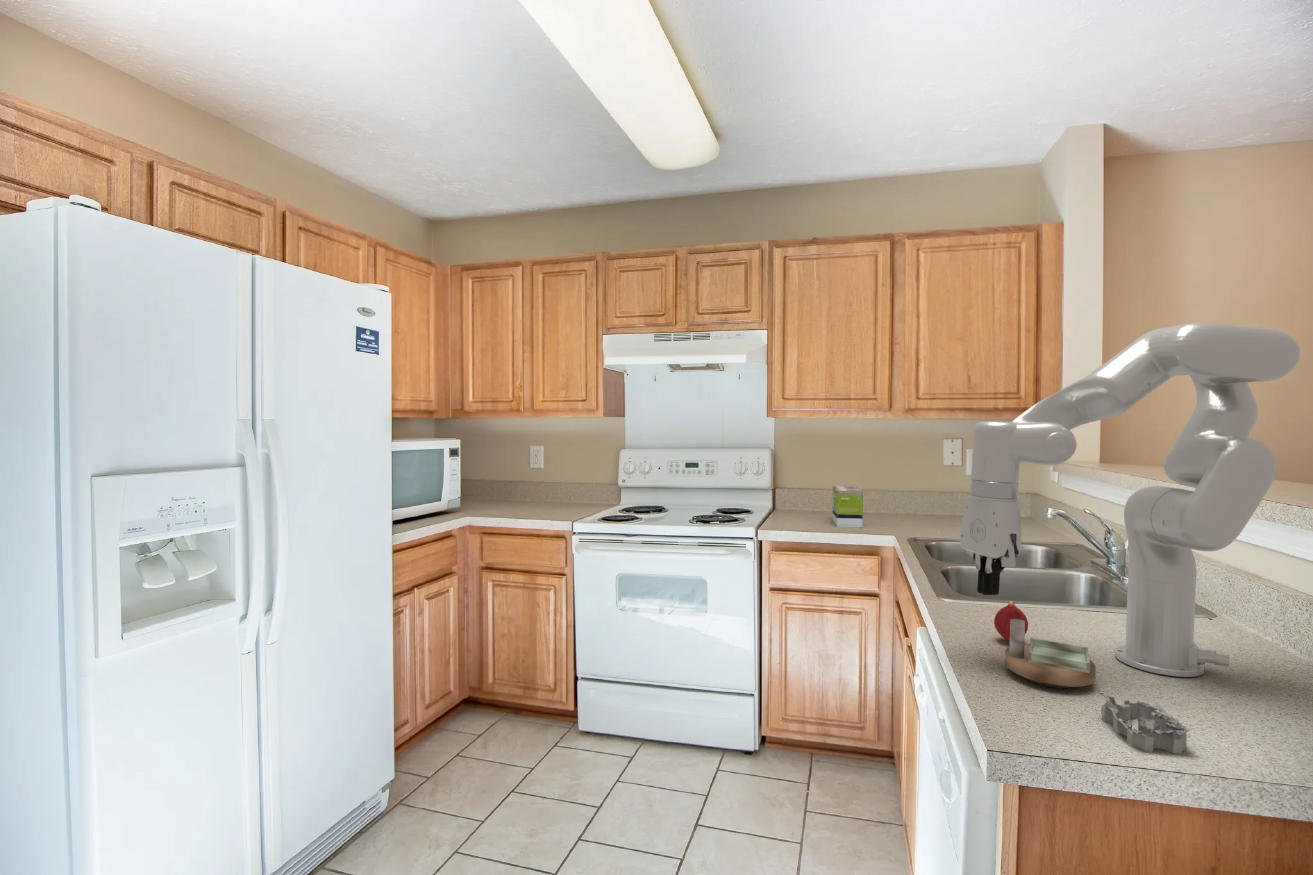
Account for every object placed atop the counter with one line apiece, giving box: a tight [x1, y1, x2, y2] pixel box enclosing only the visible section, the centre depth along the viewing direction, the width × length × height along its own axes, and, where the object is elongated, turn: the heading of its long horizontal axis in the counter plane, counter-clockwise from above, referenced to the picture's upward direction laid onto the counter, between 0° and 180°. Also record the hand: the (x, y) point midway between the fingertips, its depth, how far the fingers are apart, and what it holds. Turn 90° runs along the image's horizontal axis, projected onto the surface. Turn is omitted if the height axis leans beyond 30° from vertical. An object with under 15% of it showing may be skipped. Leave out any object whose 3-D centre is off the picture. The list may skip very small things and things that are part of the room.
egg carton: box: [1098, 690, 1193, 755], centre depth 90 cm, size 11×8×4 cm
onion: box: [993, 600, 1029, 643], centre depth 126 cm, size 6×6×8 cm
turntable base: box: [1023, 677, 1071, 689], centre depth 109 cm, size 8×8×1 cm
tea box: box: [832, 485, 864, 529], centre depth 259 cm, size 15×10×15 cm, turn 172°
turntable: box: [1004, 619, 1097, 688], centre depth 109 cm, size 13×13×8 cm
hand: (987, 593), depth 115 cm, fingers closed
